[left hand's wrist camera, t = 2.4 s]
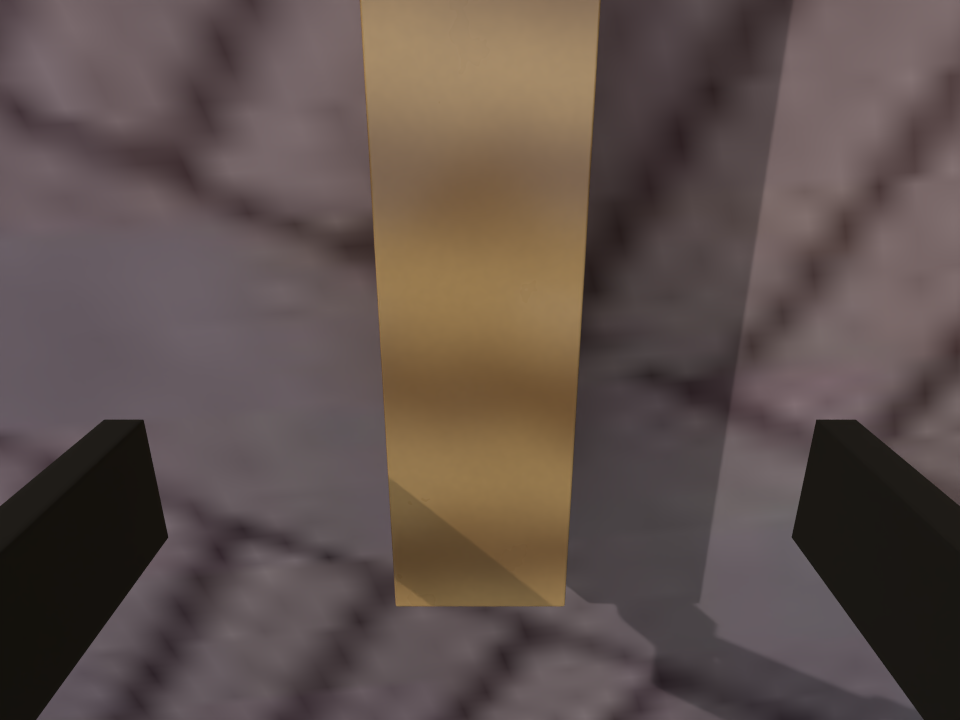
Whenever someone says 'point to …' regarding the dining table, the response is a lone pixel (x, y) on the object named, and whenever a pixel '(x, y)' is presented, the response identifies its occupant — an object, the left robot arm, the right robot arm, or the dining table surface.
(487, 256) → the bar
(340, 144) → the dining table surface
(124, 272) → the dining table surface
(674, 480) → the dining table surface
